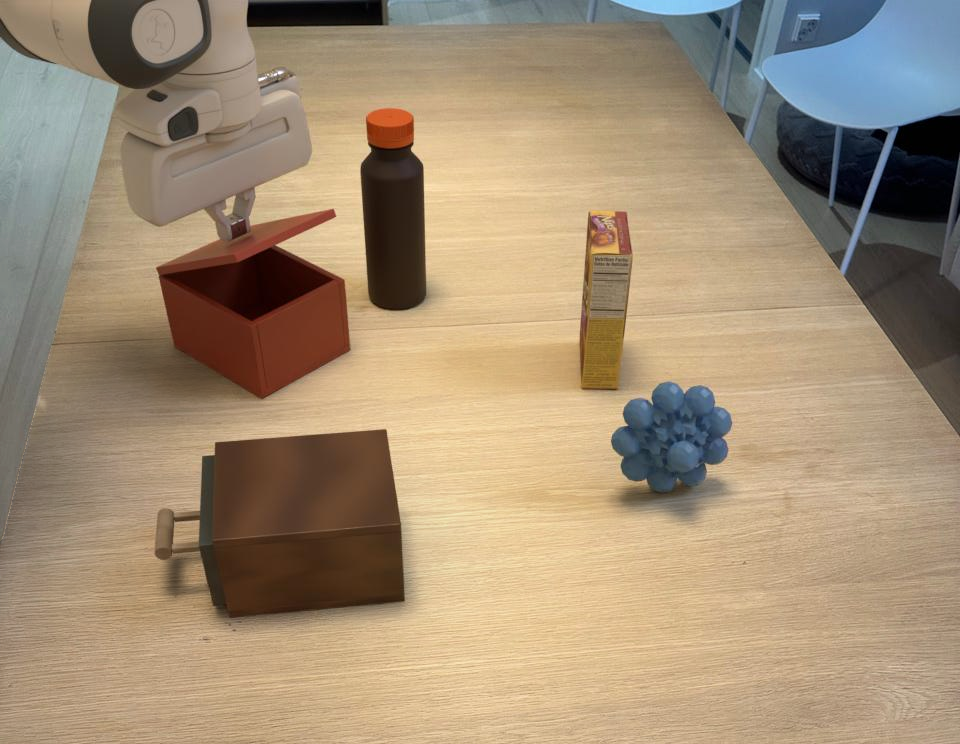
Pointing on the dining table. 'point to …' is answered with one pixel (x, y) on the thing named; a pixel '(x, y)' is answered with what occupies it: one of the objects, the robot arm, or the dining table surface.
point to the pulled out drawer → (205, 543)
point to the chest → (259, 318)
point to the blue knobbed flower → (672, 436)
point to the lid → (246, 243)
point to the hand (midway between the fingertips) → (234, 235)
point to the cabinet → (307, 523)
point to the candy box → (604, 298)
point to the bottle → (393, 211)
